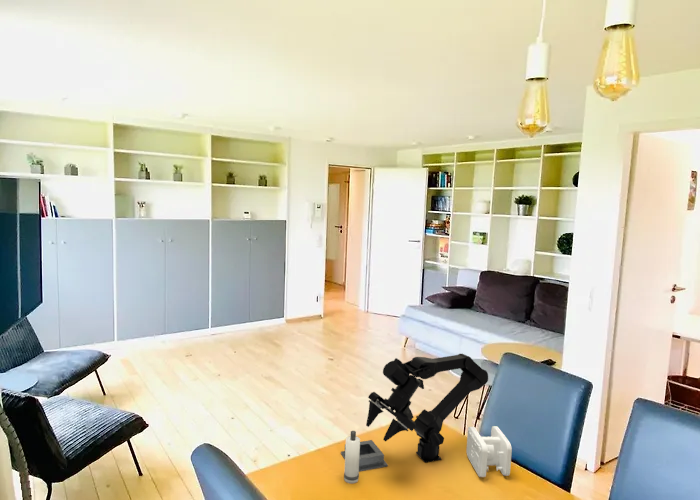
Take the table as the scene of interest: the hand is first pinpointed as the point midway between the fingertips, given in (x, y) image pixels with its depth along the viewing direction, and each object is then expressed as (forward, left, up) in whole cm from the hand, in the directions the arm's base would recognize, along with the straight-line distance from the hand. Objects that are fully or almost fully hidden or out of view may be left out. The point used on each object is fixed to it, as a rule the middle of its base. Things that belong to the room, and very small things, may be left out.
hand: (375, 433), depth 147 cm
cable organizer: (-37, +9, -13) cm, 40 cm away
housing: (0, -8, -13) cm, 15 cm away
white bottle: (+8, +1, -13) cm, 15 cm away
